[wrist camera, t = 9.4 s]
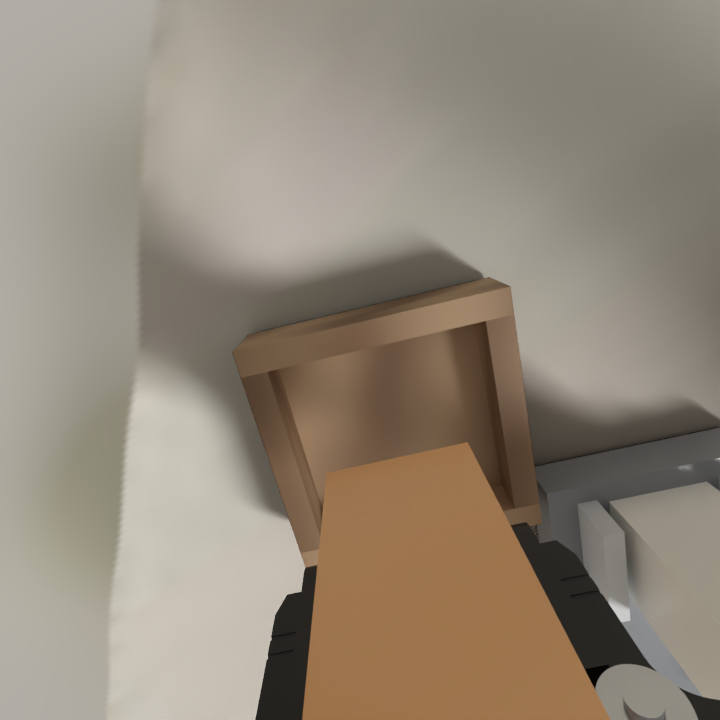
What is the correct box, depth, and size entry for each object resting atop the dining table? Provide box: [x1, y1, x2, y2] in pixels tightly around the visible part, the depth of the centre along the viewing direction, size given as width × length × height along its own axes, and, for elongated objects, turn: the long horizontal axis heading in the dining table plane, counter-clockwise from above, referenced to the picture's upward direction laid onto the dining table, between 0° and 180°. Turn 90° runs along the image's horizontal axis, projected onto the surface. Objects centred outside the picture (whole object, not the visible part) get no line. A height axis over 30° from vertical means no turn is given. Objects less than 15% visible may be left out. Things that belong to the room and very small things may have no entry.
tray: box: [232, 277, 542, 567], centre depth 18 cm, size 10×10×2 cm
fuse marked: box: [302, 442, 611, 720], centre depth 9 cm, size 4×4×9 cm
